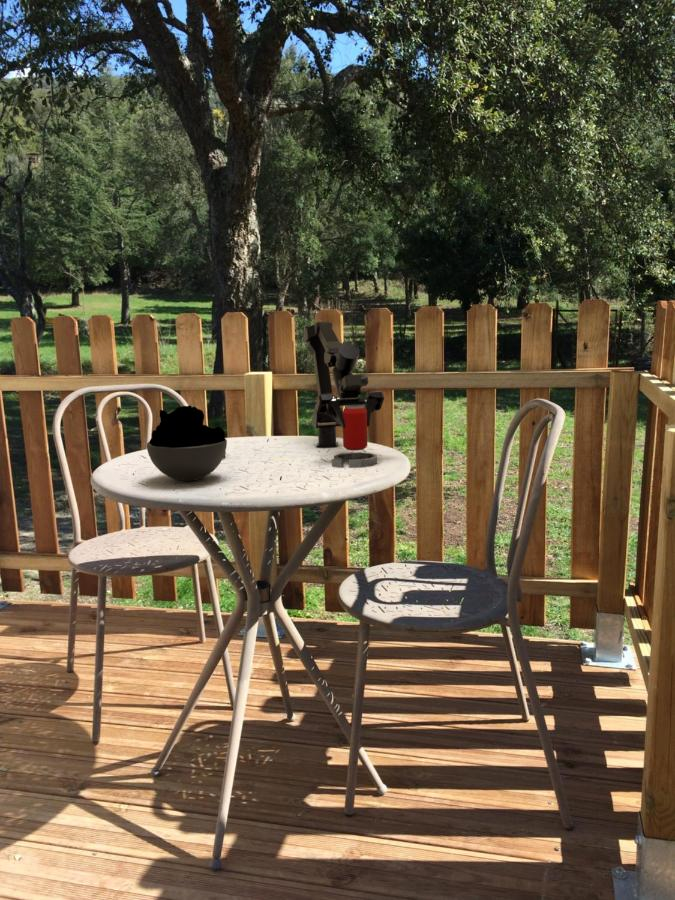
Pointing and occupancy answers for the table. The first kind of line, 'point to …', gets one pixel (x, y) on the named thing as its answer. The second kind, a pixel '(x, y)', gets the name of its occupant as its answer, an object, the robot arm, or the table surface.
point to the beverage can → (355, 427)
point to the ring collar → (355, 459)
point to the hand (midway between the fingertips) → (356, 426)
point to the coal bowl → (186, 445)
